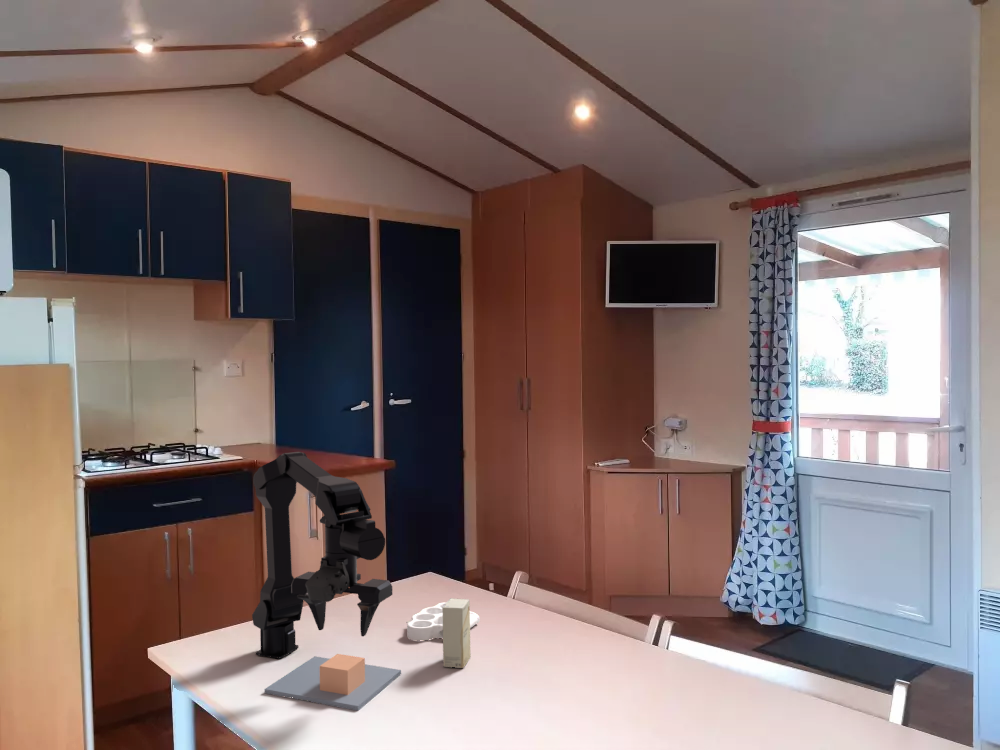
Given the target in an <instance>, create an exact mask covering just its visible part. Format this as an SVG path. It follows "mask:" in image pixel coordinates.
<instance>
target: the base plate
mask: <svg viewBox="0 0 1000 750" xmlns="http://www.w3.org/2000/svg"><path fill="white" fill-rule="evenodd" d="M329 659H330V658H328V657H321V656H317V655H315V656H313V657H311V658H309V659H308V660H306V661H305V662H304V663H302V664H301V665H299V666H297V667H296V668H294V669H293V670H291V671H290V672H288V673H287V674H286V675H284V676H283V677H281V678H279V679H278V680H276V681H275V682H273V683H271V684H270V685H269V686H267V687H265V688H264V694H266V693H267V694H266V695H271V694H273V695H272V696H276V695H278V696H277V697H282V696H285V697H284V698H287V697H291V698H290V699H293V698H295V699H294V700H298V699H302V700H301V701H303V700H308V701H307V702H309V701H311V703H314V702H317V703H316V704H320V703H322V704H321V705H325V704H326V705H325V706H330V707H331V706H332V707H337V708H343V709H347V710H353V711H359V710H361V709H362V708H363V707H364V706H365V705H367V704H368V703H369V702H371V700H372V699H374V698H375V697H376V696H377V695H379V694H380V693H381V692H382V691H383V690H384V689H385V688H387V687H388V686H389V685H391V683H393V682H394V681H395V680H397V678H398V677H400V676H401V675H402V670H401V669H398V668H397V669H396V668H390V667H385V666H377V665H373V664H372V665H371V664H366V663H365V682H364V683H362V684H361V685H360V686H359V687H357V688H356V689H355V690H354V691H352V692H351V693H350V694H349V695H345V694H339V693H333V692H328V691H322V690H320V665H322V664H323V663H325V662H326V661H328V660H329ZM400 674H401V675H400ZM292 697H293V698H292Z"/></svg>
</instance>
